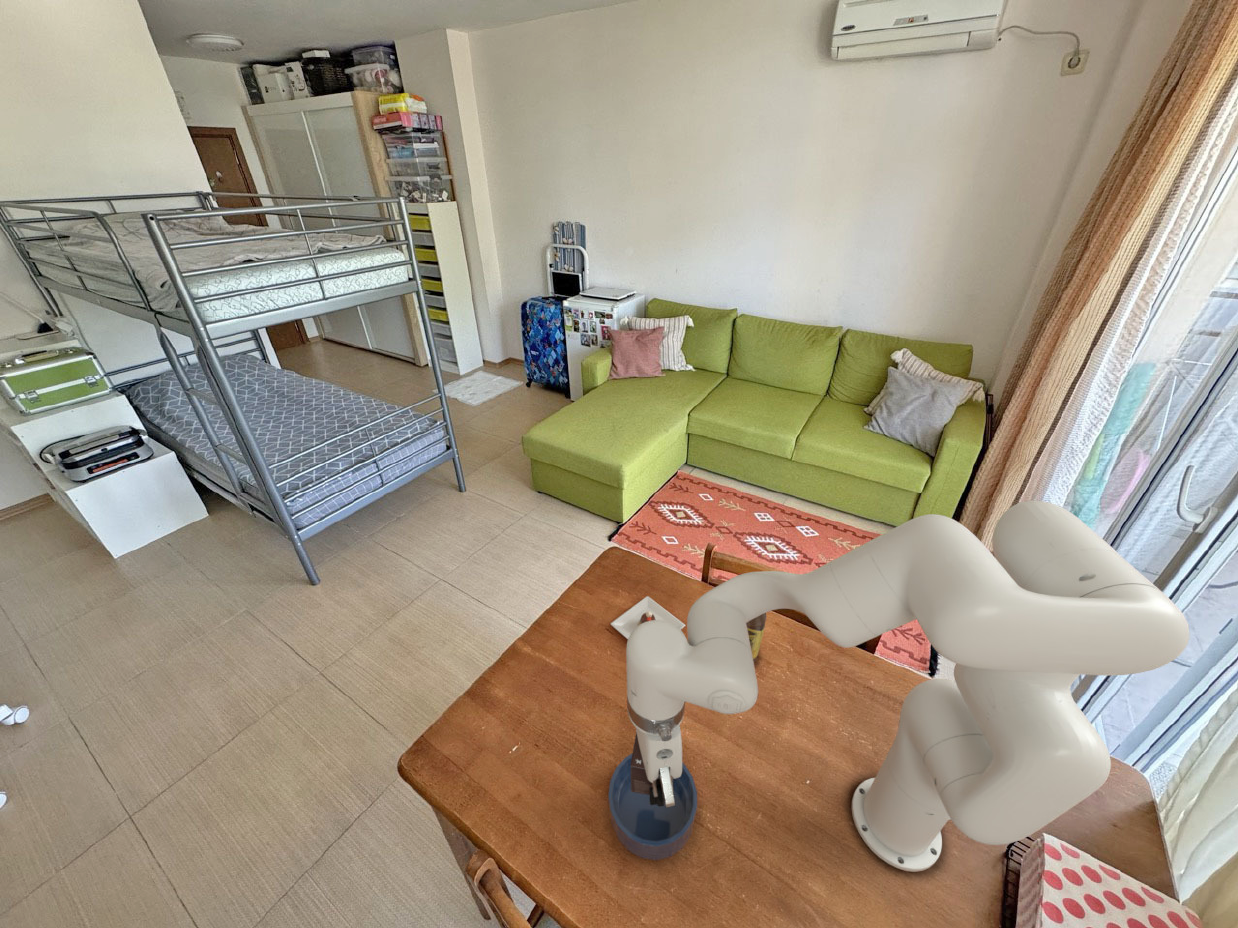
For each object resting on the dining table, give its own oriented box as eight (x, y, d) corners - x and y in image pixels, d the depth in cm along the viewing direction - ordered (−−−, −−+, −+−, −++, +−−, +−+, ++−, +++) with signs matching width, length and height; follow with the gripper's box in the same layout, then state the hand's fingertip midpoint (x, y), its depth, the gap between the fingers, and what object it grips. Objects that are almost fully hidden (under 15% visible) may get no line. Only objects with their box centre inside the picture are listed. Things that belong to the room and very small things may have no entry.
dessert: (648, 660, 104) (648, 645, 101) (610, 626, 111) (609, 612, 109) (685, 628, 111) (686, 613, 108) (647, 598, 118) (647, 584, 116)
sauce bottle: (721, 653, 105) (730, 587, 94) (738, 637, 108) (749, 571, 98) (746, 673, 101) (759, 606, 90) (764, 655, 104) (778, 588, 94)
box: (671, 801, 71) (672, 775, 67) (630, 792, 72) (629, 766, 68) (675, 758, 76) (677, 732, 72) (637, 750, 77) (637, 724, 73)
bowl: (680, 757, 87) (681, 740, 84) (706, 849, 76) (709, 833, 73) (603, 774, 85) (602, 757, 82) (618, 871, 74) (617, 855, 71)
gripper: (705, 763, 58) (696, 830, 67) (665, 641, 72) (662, 710, 81) (643, 777, 56) (642, 843, 66) (615, 650, 71) (617, 719, 80)
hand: (653, 769), depth 74 cm, fingers closed on box, 7 cm apart
